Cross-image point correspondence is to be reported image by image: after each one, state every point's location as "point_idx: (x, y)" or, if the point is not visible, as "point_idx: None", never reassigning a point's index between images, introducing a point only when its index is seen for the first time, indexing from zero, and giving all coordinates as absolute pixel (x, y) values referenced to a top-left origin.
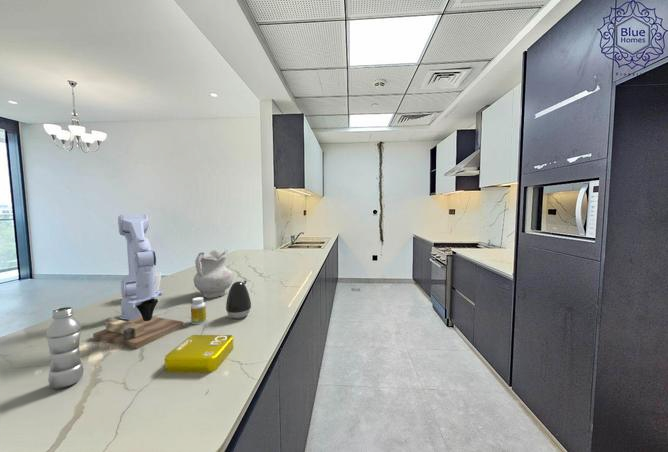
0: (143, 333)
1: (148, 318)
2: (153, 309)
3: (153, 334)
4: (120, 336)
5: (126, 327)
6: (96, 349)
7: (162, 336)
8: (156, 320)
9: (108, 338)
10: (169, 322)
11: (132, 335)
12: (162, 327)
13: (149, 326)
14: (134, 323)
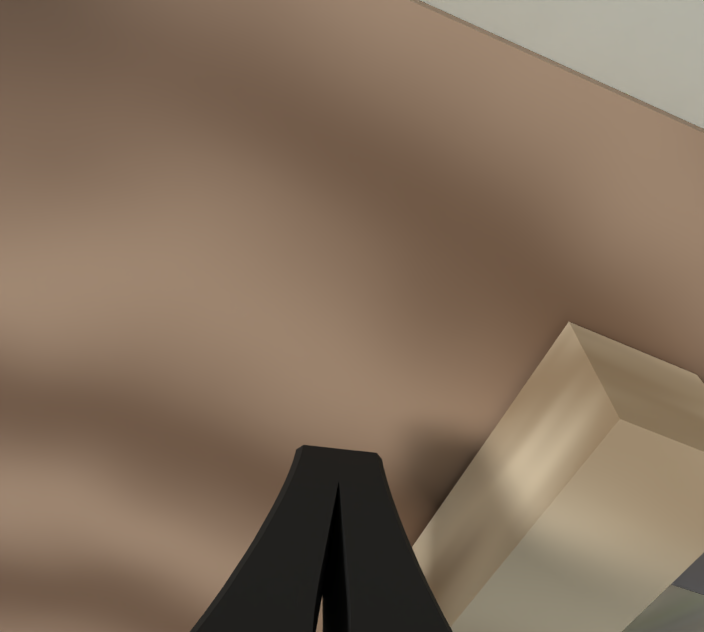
0: (585, 333)
1: (390, 495)
2: (234, 621)
3: (634, 143)
4: None
5: (608, 628)
6: (685, 613)
7: (483, 29)
8: (11, 428)
9: None
10: (46, 149)
11: None
12: (300, 154)
13: (253, 405)
14: (478, 606)
